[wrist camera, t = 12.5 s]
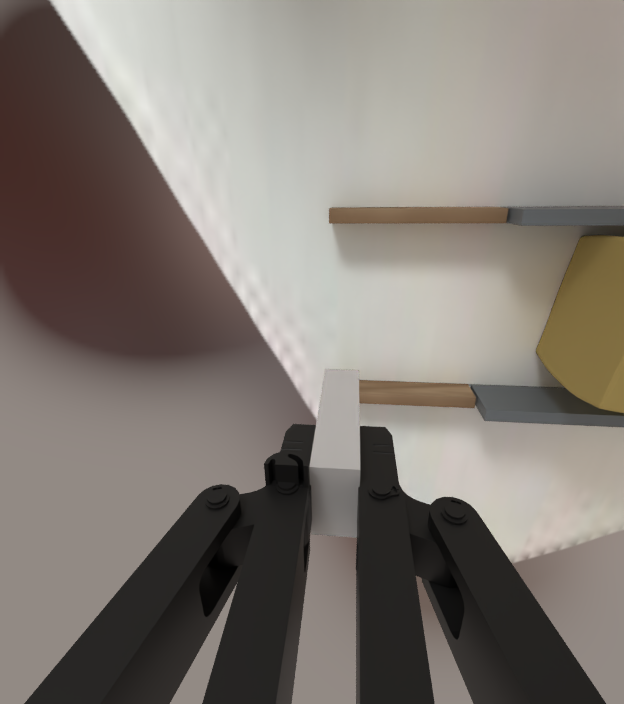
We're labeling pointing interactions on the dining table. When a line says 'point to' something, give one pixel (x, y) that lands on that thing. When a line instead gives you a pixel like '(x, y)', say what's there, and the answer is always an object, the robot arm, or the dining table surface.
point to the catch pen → (548, 401)
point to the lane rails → (416, 390)
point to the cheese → (589, 324)
